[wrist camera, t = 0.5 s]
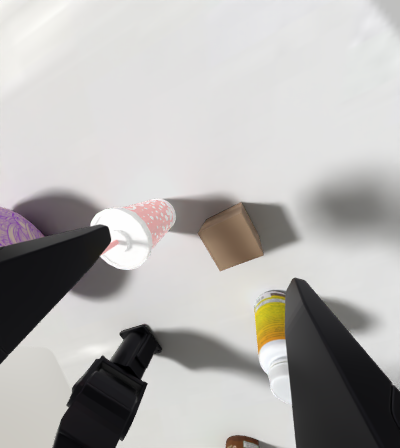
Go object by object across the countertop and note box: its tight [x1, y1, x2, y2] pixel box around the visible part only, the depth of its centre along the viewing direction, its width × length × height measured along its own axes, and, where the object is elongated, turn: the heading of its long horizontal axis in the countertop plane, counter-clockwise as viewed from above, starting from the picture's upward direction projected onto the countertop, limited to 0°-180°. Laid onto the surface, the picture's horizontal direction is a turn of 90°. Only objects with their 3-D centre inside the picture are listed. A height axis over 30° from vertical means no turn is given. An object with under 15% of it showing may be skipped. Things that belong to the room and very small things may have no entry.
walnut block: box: [198, 202, 263, 271], centre depth 20 cm, size 5×5×5 cm
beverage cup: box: [90, 199, 176, 270], centre depth 18 cm, size 6×6×14 cm
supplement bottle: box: [254, 291, 292, 405], centre depth 20 cm, size 6×6×10 cm
